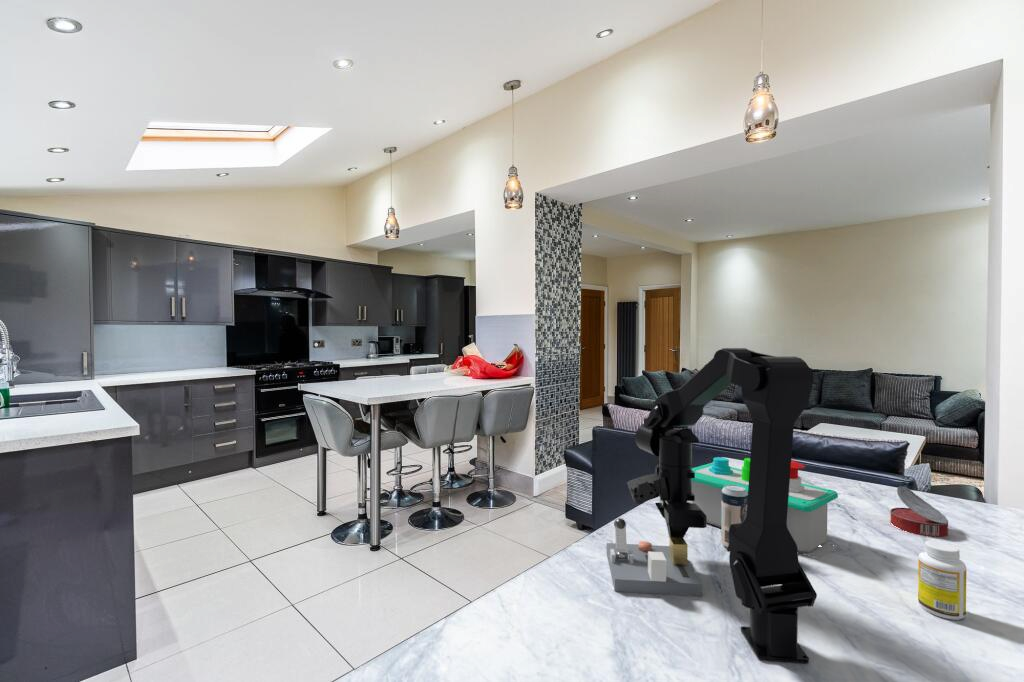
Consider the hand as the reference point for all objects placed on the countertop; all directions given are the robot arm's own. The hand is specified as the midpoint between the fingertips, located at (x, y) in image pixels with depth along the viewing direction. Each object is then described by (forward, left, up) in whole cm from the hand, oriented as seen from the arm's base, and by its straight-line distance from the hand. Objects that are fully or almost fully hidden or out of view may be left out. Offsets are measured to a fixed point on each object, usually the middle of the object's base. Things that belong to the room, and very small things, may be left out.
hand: (674, 547), depth 88 cm
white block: (-9, +5, -1) cm, 11 cm away
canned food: (+25, -59, -4) cm, 64 cm away
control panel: (+20, -22, -4) cm, 30 cm away
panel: (-3, +5, -3) cm, 7 cm away
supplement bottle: (-10, -38, -4) cm, 39 cm away
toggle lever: (-3, +10, -1) cm, 11 cm away
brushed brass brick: (-3, 0, -1) cm, 3 cm away
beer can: (+10, -14, -4) cm, 17 cm away
